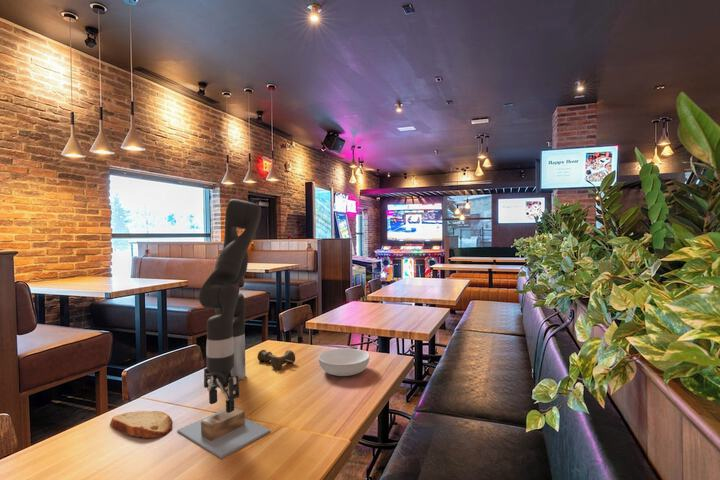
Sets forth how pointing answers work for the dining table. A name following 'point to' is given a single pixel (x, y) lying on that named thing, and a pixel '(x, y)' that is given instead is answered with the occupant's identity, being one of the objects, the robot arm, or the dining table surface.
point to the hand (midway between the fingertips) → (221, 407)
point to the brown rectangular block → (222, 424)
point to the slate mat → (225, 437)
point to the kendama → (277, 358)
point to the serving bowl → (344, 361)
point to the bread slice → (143, 424)
